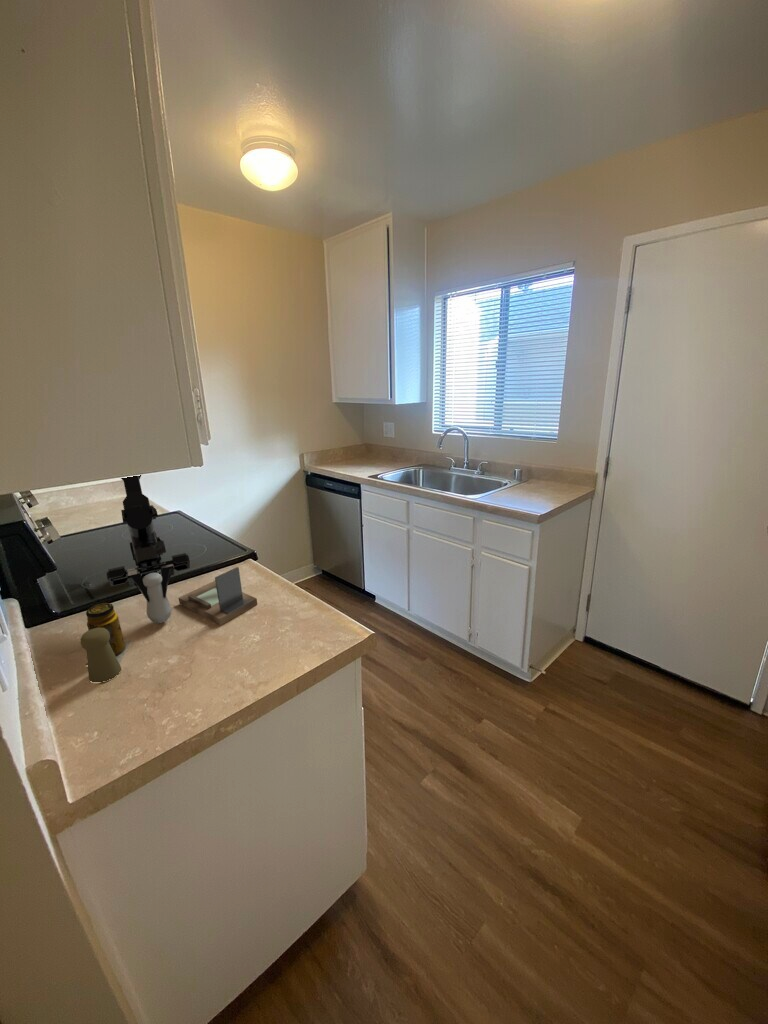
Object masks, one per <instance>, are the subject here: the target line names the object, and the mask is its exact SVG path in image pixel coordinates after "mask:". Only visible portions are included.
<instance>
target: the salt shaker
mask: <svg viewBox="0 0 768 1024" xmlns="http://www.w3.org/2000/svg"><path fill="white" fill-rule="evenodd" d="M142 580H143V584H144V586H145V587H146V591H147V594H148V597H149V602H147V601H146V616H147V617H148V619H149V621H151V622H152V623H153V624H162V623H164V622H167V621H168V620H169V618H170V617H171V615H172V614H171V613H172V610H173V608H172V606H171V603H170V601H169V599H168V596H167V595H166V598H164V595H163V589H162V573H160V574H159V573H150V574H147V575H146V576H143V577H142Z"/></svg>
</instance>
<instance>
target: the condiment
mask: <svg viewBox="0 0 768 1024" xmlns="http://www.w3.org/2000/svg"><path fill="white" fill-rule="evenodd" d="M85 615H86V621H87V622H86V627H87V631H89V630H91V629H94V628H105V629H107V630H108V631H109V634H110V640H109V644H110V646H111V648H112V650H113V652H114V654H115V656H116V658H117V660H118V662H119V664H120V663H121V662H122V660H123V659H124V656H125V654H126V652H128V651H127V650H128V649H129V646H130V645H131V643H132V639H131V640H125V639H124V636H123V635H124V634H123V631H122V626H121V624H120V619H119V616H118V613H116V610H115V608H114V605H113V603H110V602H102V603H98V604H95V605H93V606H91V607H89V608H88V609H87V610H86V613H85ZM85 665H88V664H87V663H85Z"/></svg>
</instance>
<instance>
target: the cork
mask: <svg viewBox="0 0 768 1024" xmlns="http://www.w3.org/2000/svg"><path fill="white" fill-rule="evenodd" d="M109 640H110V634H109V631H108V630H107V629H105V628H94V629H91V630H86V632H84V633H83V634H82V635H81V637H80V641H79V643H80V647H82V649H83V650H85V653H86V661H87V662H86V664H88V667H87V671H88V674H87V675H88V680H90V681H92V682H103V681H107V680H109V679H112V678H114V677H115V676H116V675H118V676H119V674H120V673H121V672H120V671H122V666H121V664H120V663H119V662H118V660H117V658H116V656H115V654H114V652H113V650H112V648H111V646H110V644H109ZM119 672H120V673H119ZM116 677H117V676H116ZM116 677H115V678H116ZM115 678H114V679H115ZM112 680H113V679H112ZM90 681H89V682H90ZM107 682H108V681H107Z"/></svg>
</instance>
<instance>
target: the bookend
mask: <svg viewBox="0 0 768 1024" xmlns="http://www.w3.org/2000/svg"><path fill="white" fill-rule="evenodd" d="M214 581H215V582H216V588H217V594H218V600H219V606H220V611H222V612H224V613H226V614H230V613H232V612H233V611H235V610H237V609H239V608H241V607H242V606H244V605H246V604H248V603H250V602H249V601H247V600H245V599H243V595H242V592H243V590H242V582H241V575H240V569H239V567H238V566H237V567H235V568H233V569H230V570H227V571H226V572H223V573H222V574H219V575H217V576H214Z"/></svg>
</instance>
